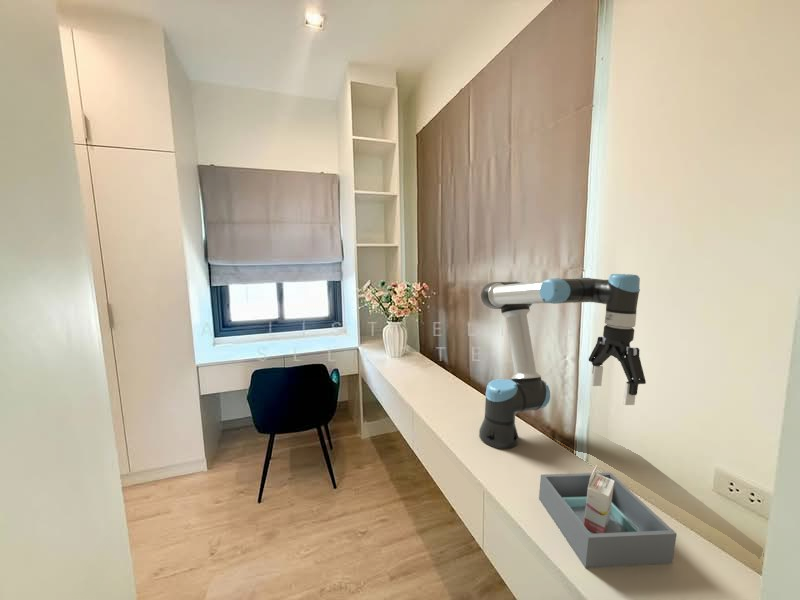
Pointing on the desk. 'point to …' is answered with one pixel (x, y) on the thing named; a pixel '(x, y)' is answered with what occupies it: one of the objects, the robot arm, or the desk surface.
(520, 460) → the desk surface
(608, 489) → the ink cartridge box
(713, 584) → the desk surface
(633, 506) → the grey square tray
